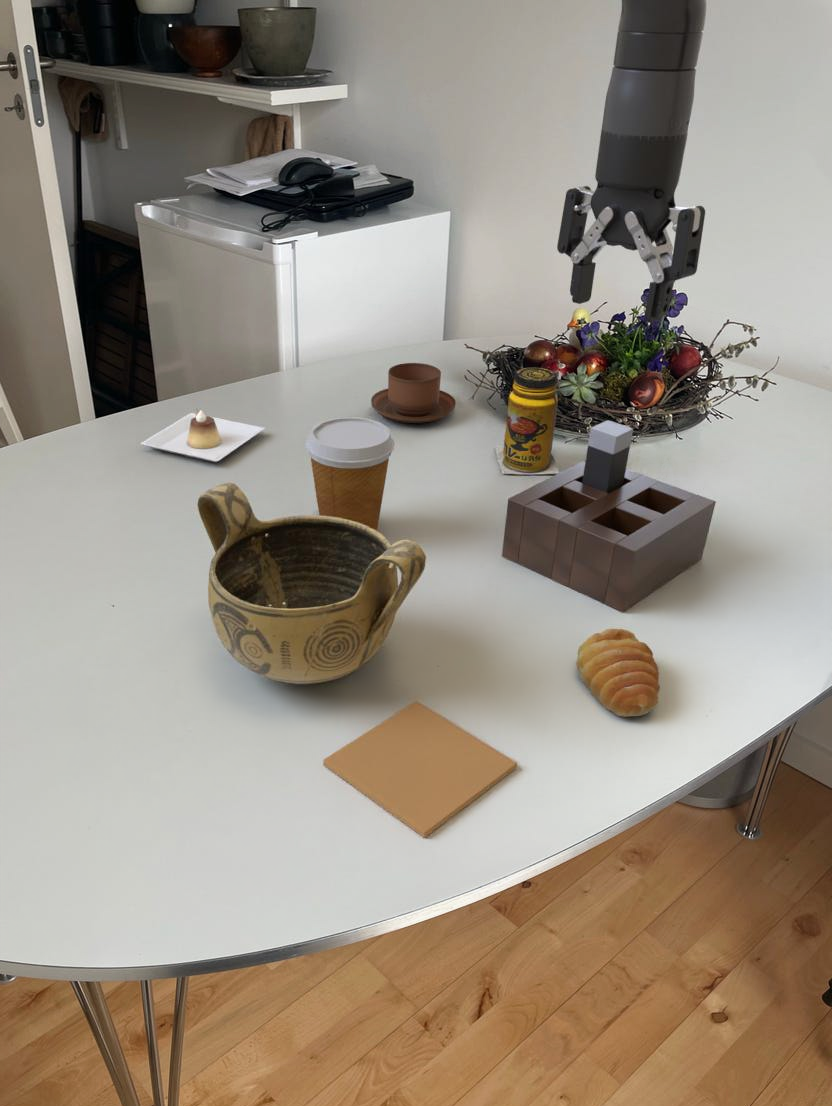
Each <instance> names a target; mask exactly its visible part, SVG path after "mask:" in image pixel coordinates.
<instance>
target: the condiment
mask: <svg viewBox="0 0 832 1106" xmlns="http://www.w3.org/2000/svg"><path fill="white" fill-rule="evenodd" d="M557 384H558V375H557V373H556V372H555V371H554V370H551V369H548V368H544V367H537V366H535V367H534V366H533V367H532V366H531V367H523V368H521V369H518V370H517V371H515V373H514V376H513V384H512V389H513V390H512V391H511V392H510V394H509V396H508V405H507V415H506V419H505V420H506V425H505V432H504V440H503V446H500V445H497V446H494V451H495V454H496V458H497V462H498V465H499V468H500V473H501V474H503V475H527V476H528V475H529V476H530V475H548V474H549V475H552V474H553V475H554V474H555V475H557V474H559V473H561V471H559V468H558V466H557V463H556V461H555V458H554V456H553V453H552V451H553V443H554V435H555V429H556V428H555V427H556V420H557V412H558V405H559V404H558V403H559V397H558V395H557V393H556V392H557V389H558V386H557Z"/></svg>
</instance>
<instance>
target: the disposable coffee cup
mask: <svg viewBox="0 0 832 1106" xmlns="http://www.w3.org/2000/svg"><path fill="white" fill-rule="evenodd" d="M391 434H392V433H391V430H390V429H389V427H388V426H387V425H385V424H384V423H382V422H379V421H377V420H374V419H370V418H366V417H359V416H357V417H356V416H342V417H341V416H340V417H333V418H327V419H325V420H323V421H319V422H317V423H316V424H314V425H313V426H312V427H311V428H310V430H309V434H308V437H307V439H306V440H305V444H304V445H305V449H306V451H307V453H308V456H309V457H310V464H311V468H312V469H311V470H312V477H313V483H314V489H315V497H316V503H317V509H318V515H319V516H331V517H339V518H343V519H347V520H351V521H355V522H358V523H361V524H364V525H366V526H369V527H370V528H372V529H375V530H376V531H378V527H379V521H380V515H381V509H382V504H383V497H384V491H385V487H386V486H385V485H386V480H387V472H388V466H389V461H390V457H391V456H392V453H393V451H394V449H395V441H394V439H393V438H392V435H391Z"/></svg>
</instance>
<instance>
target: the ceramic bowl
mask: <svg viewBox="0 0 832 1106" xmlns="http://www.w3.org/2000/svg"><path fill="white" fill-rule="evenodd" d="M197 510H198V514H199V518H200V519H201V522H202V524H203V527H204V529H205V531H206V533H207V536H208V538H209V540H210V543H211V545H212V548H213V550H214V553H215V554H214V555H213V557H212V559H211V561H210V564H209V565H210V566H209V572H208V581H207V596H208V597H207V599H208V606H209V611H210V615H211V618H212V622H213V625H214V629H215V631H216V634H217V636H218V638H219V640H220V642H221V643H222V646H223V647H224V648H225V649H226V651H228V653H229V655H231V656H232V658H233V659H234V660H236V662H238V663H239V664H240V665H242V666H243V667H245V668H246V669H248V670H250V671H251V672H253V673H256V674H258V675H259V676H262V677H264V678H267V679H268V680H273V681H277V682H280V683H284V684H285V683H286V684H293V685H312V684H313V685H314V684H322V683H327V682H331V681H334V680H338V679H340V678H343V677H345V676H347V675H349V674H351V673H353V672H355V671H356V670H358V669H360V668H361V667H362V666H364V664H366V663H368V661H369V660H370V659H372V658H373V656H374V655H375V654H376V653H377V652H378V650H379V649H380V648H381V647H382V646H383V644H384V643H385V641H386V639H387V637H388V635H389V633H390V631H391V629H392V626H393V623H394V621H395V617H396V614H397V612H398V610H399V609H400V608H401V606H402V604H403V603H404V601H405V600H406V598H407V597H408V595H409V593H411V591H412V589H413V588H414V586H415V585H416V584H417V583H418V581H419V579H420V578H421V577H422V575H423V573H424V571H425V568H426V560H427V556H426V553H425V552H424V550H423V548H422V547H421V545H420V544H418V543H417V542H415V541H414V540H413V541H412V540H410V539H400V540H398V541H395V542H394V543H393V544H391V542H390V541H389V540H388V538H387V537H386V536H385V535H383V534H382V533H381V532H379V531H378V530H377V531H376V530H375V529H372V528H370V527H369V526H366V525H364V524H361V523H358V522H355V521H351V520H347V519H343V518H339V517H331V516H319V514H317V515H316V514H313V515H312V514H311V515H310V514H309V515H307V514H306V515H305V514H304V515H291V516H282V517H278V518H274V519H270V520H265V521H264V520H260V519H258V518H257V517H256V514H255V513H254V511H253V508H252V506H251V503H250V502H249V499H248V497H247V496H246V495H245V493H244V491H243V490H242V489H241V488H240V487H239V486H238V485H237V484H236V483H233V482H231V481H228V482H227V481H225V482H223V483H221V484H219V485H217V486H215V487H212V488H210V489H208V490H206V491H205V492H204V493H202V494H201V495H200V496H199V497H198V499H197ZM398 570H399V572H400V574H401V576H400V582H399V579H398V578H399V577H398Z"/></svg>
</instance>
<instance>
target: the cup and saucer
mask: <svg viewBox="0 0 832 1106" xmlns="http://www.w3.org/2000/svg"><path fill="white" fill-rule="evenodd" d="M387 375H388V377H387V378H388V379H387V388H385V389H382V390H379V391H377V392H376V393H374V394H373V395H372V396H371V399H370V403H371V406H372V408H373V409H374V411H376V413H378V414H379V415H381V416H382V417H384V418H386V419H389V420H392V421H396V422H400V423H407V424H408V423H409V424H421V423H422V424H423V423H430V422H434V421H438V420H441V419H443V418H445V417H447V416H449V415H450V414H451V413H452V412H453V411H454V410H455V408H456V405H457V401H456V399H455V398H454V397H453V396H452V395H451V394H449V393H448V392H446V391H443V390H441V389H440V388H441V378H442V372H441V370H440V369H439V368H438V367H436V366H434V365H431V364H427V363H422V362H403V363H398V364H395V365H393V366H391V367H390V368H389V369H388V373H387Z"/></svg>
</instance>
